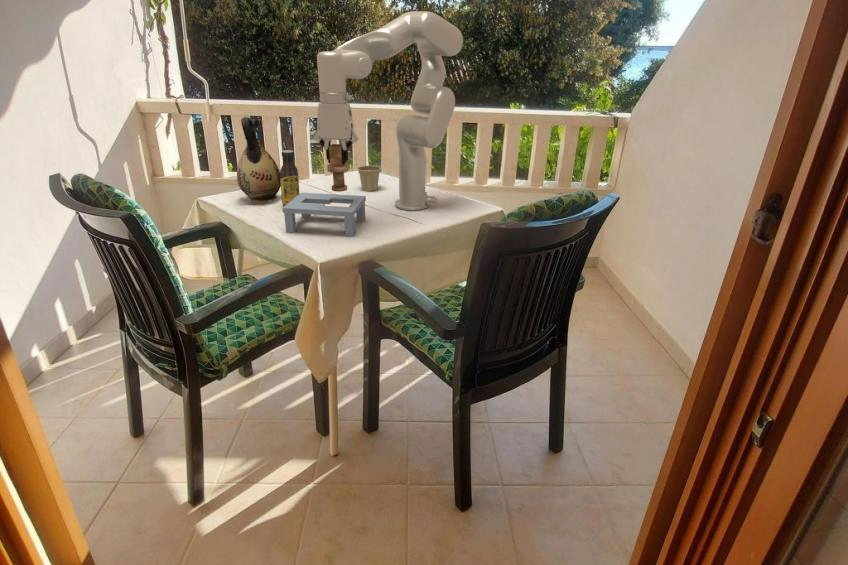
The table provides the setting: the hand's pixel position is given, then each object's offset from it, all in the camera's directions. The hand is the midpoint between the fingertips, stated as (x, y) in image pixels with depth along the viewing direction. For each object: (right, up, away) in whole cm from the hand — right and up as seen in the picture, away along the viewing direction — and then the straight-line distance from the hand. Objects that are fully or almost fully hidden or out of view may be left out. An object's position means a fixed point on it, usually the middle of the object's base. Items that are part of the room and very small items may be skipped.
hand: (337, 161), depth 150 cm
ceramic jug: (-34, -6, +33) cm, 48 cm away
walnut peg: (0, -8, +4) cm, 9 cm away
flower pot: (+4, +1, +49) cm, 49 cm away
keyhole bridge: (-5, -18, +10) cm, 21 cm away
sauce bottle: (-21, -10, +26) cm, 35 cm away
